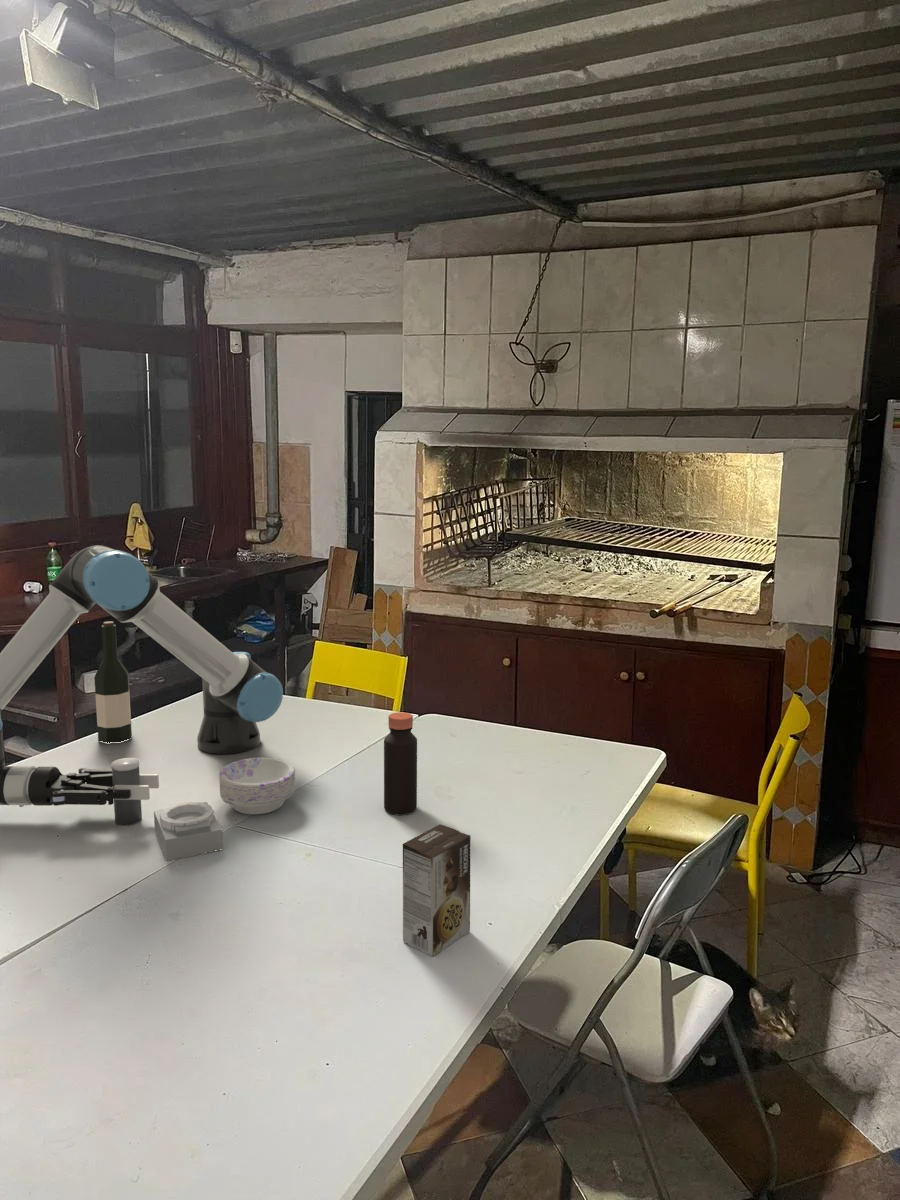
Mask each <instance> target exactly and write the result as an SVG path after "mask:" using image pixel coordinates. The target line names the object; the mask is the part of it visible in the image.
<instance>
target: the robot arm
mask: <svg viewBox="0 0 900 1200" xmlns="http://www.w3.org/2000/svg"><path fill="white" fill-rule="evenodd" d="M48 589H49V593H48V595H46V597H45V598H44V599H43V600H42V602H41V603H40V604H39V606H37V608H36V609H35V610H34V611H33V613H32V614H31V615H30V616H29V617H28V618H27V620H25V622H24V623H23V625H22V626H21V627H20V629H19V630H18V631H16V633H15V635H14V636H13V637H12V638H11V639H10V641H9V642H8V643H7V644H6V645H5V647H4V648H3V649H2V650H1V652H0V806H18V807H20V808H23V807H24V806H32V805H33V806H36V807H37V806H38V807H40V806H41V807H42V806H49V807H50V806H56V807H57V806H64V805H75V806H77V805H84V806H85V805H86V806H92V805H93V806H98V805H99V806H103V805H104V806H105V805H106V804H107V802H108V804H107V805H109V806H112V805H114V799H115V800H141V801H145V800H146V801H149V799H150V796H151V795H150V789H159V787H160V780H159V779H160V777H159V773H139V774H140V785H115V786H114V789H113V778H112V769H111V768H110V769H109V768H106V769H105V768H98V769H97V768H95V769H94V768H92V769H90V768H87V767H86V768H84V767H80V768H79V769H78V773H77V772H69V773H66V774H63V773H61V771H60V769H59V768H58V767H56V766H34V765H33V766H31V765H30V766H29V765H27V766H26V765H25V766H23V765H22V766H21V765H20V766H19V765H17V766H8V765H6V763H5V761H6V760H5V750H4V749H5V748H4V736H3V735H4V733H3V726H4V725H3V724H4V722H3V721H2V715H1V712H3V710H4V709H5V707H6V706H7V705H8V704H9V703H10V701H11V700H12V699H13V697H14V696H15V695H16V694H17V692H18V691H19V690H20V689H21V688H22V687H23V685H24V684H25V683H26V682H27V680H28V679H29V677H30V676H31V675H32V674H33V673H34V672H35V670H36V669H37V668H38V667H39V666H40V664H41V663H42V662H43V660H44V659H45V658H46V657H47V656H48V654H49V653H50V652H51V651H52V649H53V648H54V647H55V646H56V645H57V643H58V642H59V641H60V640H61V638H62V637H63V636H64V635H65V633H66V632H67V631H68V630H69V628H70V627H71V626H72V625H73V624H74V622H75V621H76V620H77V618H79V616H80V615H82V614H86V613H89V611H90V610H91V609H92V608H93V607H94V605H96V604H97V605H98V606H99V607H101V608H102V609H103V610H104V611H106V612H107V613H108V614H110V615H111V616H112V617H113V618H114V619H116V620H117V621H118V622H120V623H123V624H124V623H133V624H134V625H135V626H136V627H138V628H139V629H140V630H141V631H142V632H144V633H145V634H146V635H148V636H149V637H151V639H152V640H154V641H155V642H157V643H158V644H159V645H160V646H161V647H163V648H164V649H165V650H166V651H168V652H169V653H170V654H172V656H174V657H175V658H177V659H178V660H179V661H181V662H182V663H183V664H184V665H185V666H187V667H188V668H189V669H190V670H191V671H193V672H194V673H196V674H197V675H198V676H199V677H201V683H202V686H201V687H202V705H203V717H202V721H201V724H200V728H199V730H198V733H197V734H198V735H197V748H198V750H200V751H202V752H205V753H209V754H218V755H228V754H231V755H232V754H239V753H243V752H247V751H250V750H253V749H255V748H256V747H258V746H259V745H260V743H261V733H260V730H259V727H258V725H257V723H260V722H265V721H267V720H269V719H270V718H271V717H273V716H274V715H275V714H276V712H277V711H278V710H279V708H280V706H281V705H282V701H283V699H284V698H283V697H284V695H283V692H284V690H283V686H282V683H281V681H280V680H279V679H278V677H276V676H275V675H274V674H273V673H270V672H267V671H266V670H264V669H263V668H262V667H260V666H259V665H258V664H257V663H256V662H254V661H253V660H252V658H251V654H250V653H249V652H246V651H233V652H232V651H231V650H230V649H229V648H227V647H226V646H225V645H224V644H223V643H222V642H220V641H219V640H218V639H217V638H216V637H215V636H213V635H212V634H211V633H210V632H208V630H206V629H205V628H204V627H203V626H201V625H200V624H199V623H198V622H197V621H195V620H194V619H193V618H192V617H191V616H190V615H188V614H187V613H186V612H185V611H184V610H182V608H180V607H179V606H178V605H177V604H175V603H174V602H173V601H172V600H170V598H168V597H167V596H166V595H164V594H163V593H162V592H161V591H160V580H158V579H157V578H156V577H154V576H153V574H151V573H150V572H149V571H148V570H147V568H146V567H145V565H144V564H143V563H142V561H141V560H139V558H137V557H136V556H134V555H133V554H131V553H130V552H126V551H124V550H118V549H114V548H111V547H109V546H106V545H105V546H104V545H91V546H88V547H85V548H83V549H81V550H79V551H78V552H77V553H76V554H75V555H74V556H72V557H71V559H69V561H68V562H67V563H66V564H65V566H64V567H63V568H62V569H61V570H60V571H59V573H58V574H57V576H55V578H54V579H53V580H52V582H51V583H50V584H49V585H48Z"/></svg>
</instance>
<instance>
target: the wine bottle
mask: <svg viewBox="0 0 900 1200" xmlns="http://www.w3.org/2000/svg"><path fill="white" fill-rule="evenodd" d="M114 623H115V622H114V621H113V620H112V621H111V620H110V621H104V622H103V624H102V625H101V639H102V652H103V653H102V656H103V659H102V661H101V663H100V665H99V667H98V669H97V671H96V673H95V675H94V691H95V694H94V695H95V710H96V723H97V724H96V727H97V728H96V729H97V739H98V740H97V741H103V742H107V743H108V742H109V743H110V742H121V741H124V740H127V739H130V738H131V739H132V737H133V732H132V716H131V699H130V697H131V696H130V693H131V692H130V679H129V671H128V670H127V668H126V667H125V666H124V664H123V662H121V660H120V659H119V658H118V645H117V628H116V627H117V624H114ZM131 736H132V737H131Z"/></svg>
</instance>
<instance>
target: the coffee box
mask: <svg viewBox="0 0 900 1200" xmlns="http://www.w3.org/2000/svg"><path fill="white" fill-rule="evenodd" d="M470 931H471V835H469V834H466V833H463V832H461V831H459V830H457V829H455V828H452V827H449V826H447V825H444V824H441V823H440V824H436V825H435V826H433V827H431V828H430V829H428V830H426V831H424V832H422V833H420V834H418V835H417V836H415V837H413V838H411V839H409V840H407V841H406V842H403V843H402V942H403V941H404V942H405V944H406V943H408V944H409V945H408V944H407V945H408V946H410V945H412V946H413V947H412V946H411V947H412V948H414V947H415V948H414V949H416V948H417V949H416V950H418V949H419V951H420V950H421V951H420V952H422V951H423V952H422V953H425V954H426V953H427V955H428V956H431V957H436V956H437V955H438V954H440V953H441V952H442V951H444V950H445V949H446V948H448V947H449V946H451V945H452V944H453V943H455V942H456V941H458V940H459V939H461V938H463V936H465V935H467V934H468V933H469V932H470ZM404 942H403V943H404Z"/></svg>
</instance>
